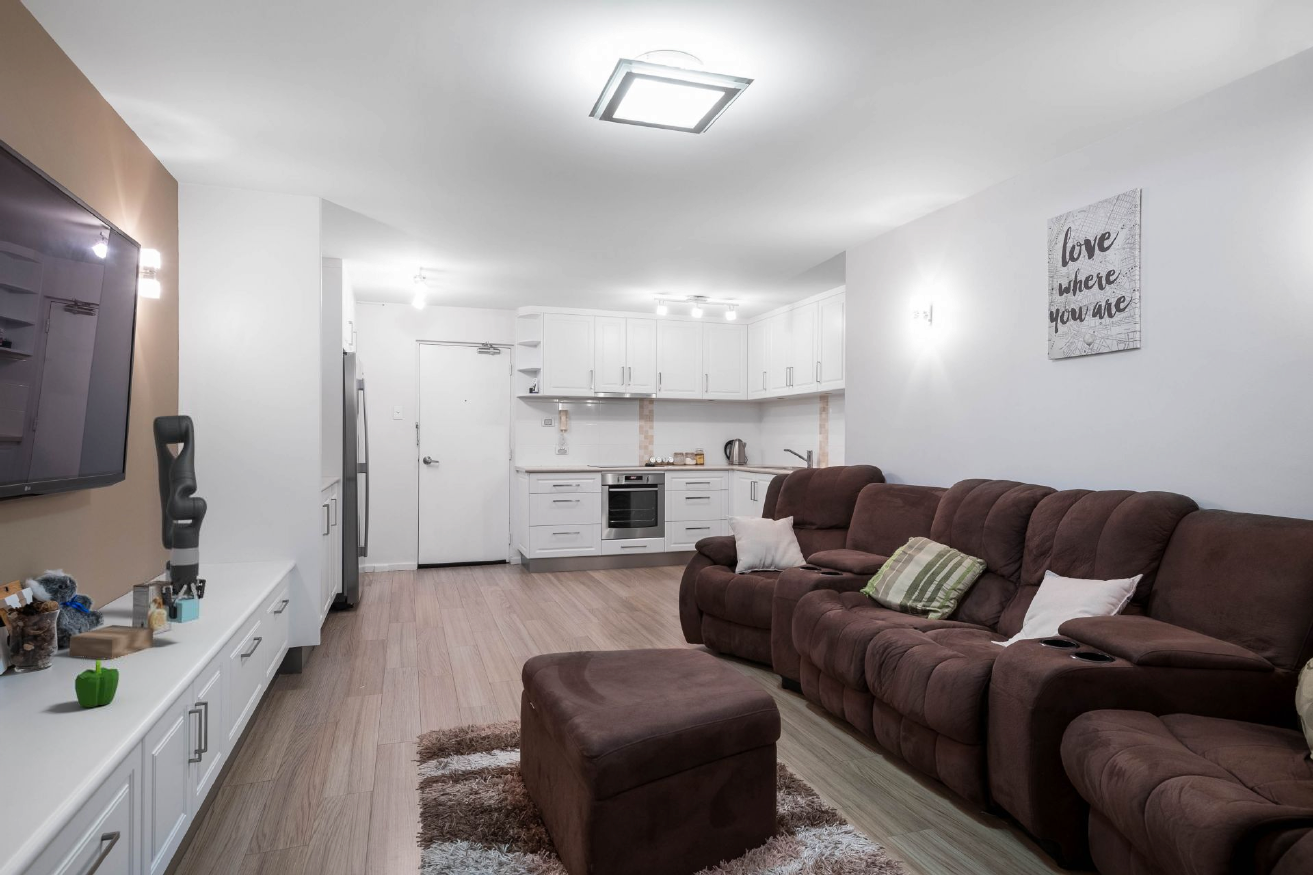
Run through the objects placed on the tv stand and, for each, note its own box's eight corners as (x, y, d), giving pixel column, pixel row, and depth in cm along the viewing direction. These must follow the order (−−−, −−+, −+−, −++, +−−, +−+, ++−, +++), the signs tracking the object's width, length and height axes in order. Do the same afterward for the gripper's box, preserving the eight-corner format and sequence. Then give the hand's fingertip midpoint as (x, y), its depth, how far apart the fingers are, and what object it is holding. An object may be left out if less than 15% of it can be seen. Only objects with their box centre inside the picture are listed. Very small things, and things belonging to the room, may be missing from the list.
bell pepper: (109, 709, 174) (111, 666, 174) (68, 711, 172) (70, 668, 172) (124, 697, 182) (125, 656, 182) (84, 699, 180) (86, 658, 180)
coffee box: (155, 628, 246) (157, 579, 246) (171, 629, 245) (173, 581, 245) (130, 635, 237) (132, 584, 237) (147, 636, 236) (149, 586, 236)
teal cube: (183, 616, 233) (184, 597, 233) (198, 618, 231) (199, 599, 231) (166, 621, 227) (166, 601, 227) (181, 623, 225) (182, 603, 225)
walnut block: (112, 644, 227) (113, 624, 227) (152, 647, 225) (153, 628, 225) (69, 657, 213) (70, 636, 213) (111, 660, 211) (112, 639, 211)
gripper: (195, 557, 237) (193, 609, 237) (153, 564, 223) (151, 620, 223) (214, 559, 235) (212, 612, 235) (173, 566, 221) (171, 622, 221)
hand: (182, 615), depth 229 cm, fingers closed on teal cube, 6 cm apart
